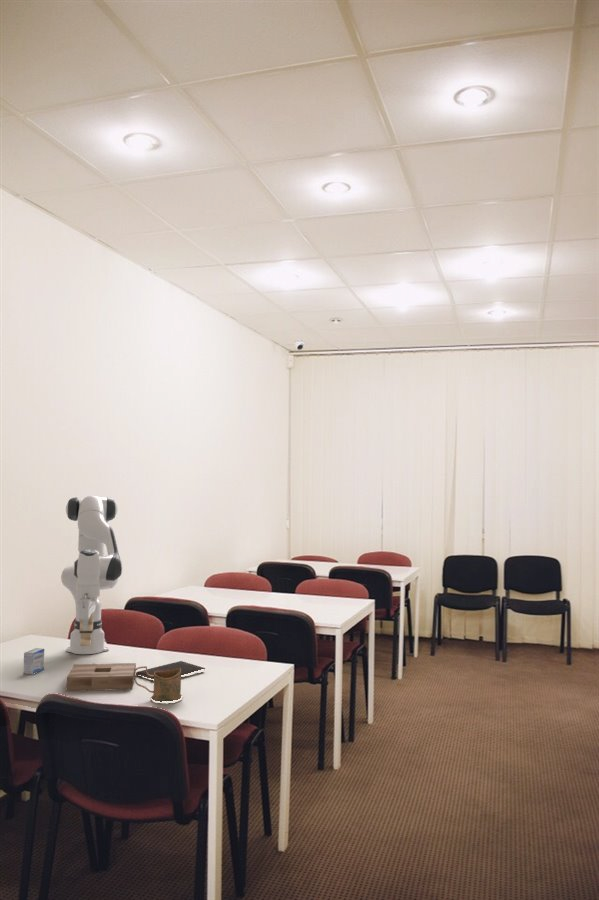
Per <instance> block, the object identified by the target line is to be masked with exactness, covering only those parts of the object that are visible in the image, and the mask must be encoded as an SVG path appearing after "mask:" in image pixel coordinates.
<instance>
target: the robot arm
mask: <svg viewBox="0 0 599 900" xmlns="http://www.w3.org/2000/svg"><path fill="white" fill-rule="evenodd" d="M65 513H66V516H67V518H68V520H70V521H73V522H77V528H78V541H77V542H78V543H77V546H78V547H77V550H78V557H77V559H76V560H75V561H73V562H74V564H73V565H68V566H65V568H64V569H62V571H61V576H60V579H61V580H60V581H61V583H62V585H63V586H64V587H65V588H66V589H68V591H69V592H70V593H71V595H72V596H73V599H74V604H75V620H74V626H73V627H74V629H73V630H72V632H71V633H70V639H69V640H70V641H69V646H68V647H66V648H65V652H68V653H72V654H75V655H92V654H93V655H94V654H99V653H103V652H107V651H110V650H109V649H110V648H109V646H108V643H107V641H106V639H105V632H104V630H103V627H102V626H103V625H102V624H103V619H102V603H101V600H100V599H99V598H98V597H100V592H101V591H104V590H109V589H113V588H114V587H116V585H117V583H118V581H119V578H120V577H121V576H122V573H123V563H122V560H121V557H120V554H119V550H118V544H117V540H116V536H115V532H114V530H113V527H112V526H111V525H109V524H108V522H109V521H112V520H113V519H115V518H116V515H118V514H117V513H118V504H117V502H116V499H115V498H113V497H108V496H107V497H103V496H96V495H88V496H84V497H83V496H82V497H71V498H69V500H68V501H67V504H66V506H65ZM104 546H105V547H106V552H107V555H106V554H105V548H104ZM92 613H94V618H93V632H92V641H91V645H90V646H80V643H81V633H80V620H82V622H83V629H84V630H87V629H88V620H89V618H90V617H91V614H92Z"/></svg>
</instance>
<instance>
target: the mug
mask: <svg viewBox="0 0 599 900" xmlns="http://www.w3.org/2000/svg"><path fill="white" fill-rule="evenodd" d="M139 669H145V670H146V673H147V675H148V676H151V677H154V681H153V690H150V689H149V688H148V687H146V686H145V685H142V684H141V683H140V684H139V682H137V679H136V673H135V672H137V671H138V670H139ZM147 669H148V667H147V666H146V665H145V666H138V667H136V669H135V671H134V684H136V685H137V686H138V687H141V688H143V689H145V690H146V691H147V692H149V693H151V694H152V696H151V697H150V699H151V698H152V699H153V700H155V701H160V702H162V701H173V700H178V699H180V698H181V696H183V695H182V694H181V692H182V691H181V690H182V681H181V680H182V678H181V668H179V669H173V670H168V671H155V672H154V675H150V674H148V672H147Z"/></svg>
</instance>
